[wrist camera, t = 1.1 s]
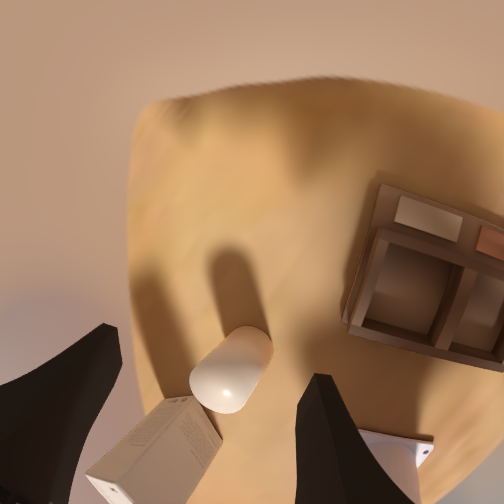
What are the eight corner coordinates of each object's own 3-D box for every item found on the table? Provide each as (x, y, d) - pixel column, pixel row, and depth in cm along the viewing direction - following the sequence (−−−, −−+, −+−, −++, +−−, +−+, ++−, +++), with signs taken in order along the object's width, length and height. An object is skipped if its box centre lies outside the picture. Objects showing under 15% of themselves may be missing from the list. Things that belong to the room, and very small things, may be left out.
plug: (266, 375, 21) (239, 421, 15) (223, 359, 22) (186, 398, 16) (279, 335, 20) (253, 376, 15) (232, 319, 21) (193, 352, 16)
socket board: (490, 358, 15) (505, 375, 13) (341, 317, 19) (340, 334, 16) (530, 243, 14) (552, 248, 11) (379, 185, 17) (386, 179, 14)
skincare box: (162, 397, 25) (77, 470, 13) (198, 392, 23) (111, 480, 12) (192, 445, 25) (125, 523, 13) (229, 443, 23) (165, 536, 12)
